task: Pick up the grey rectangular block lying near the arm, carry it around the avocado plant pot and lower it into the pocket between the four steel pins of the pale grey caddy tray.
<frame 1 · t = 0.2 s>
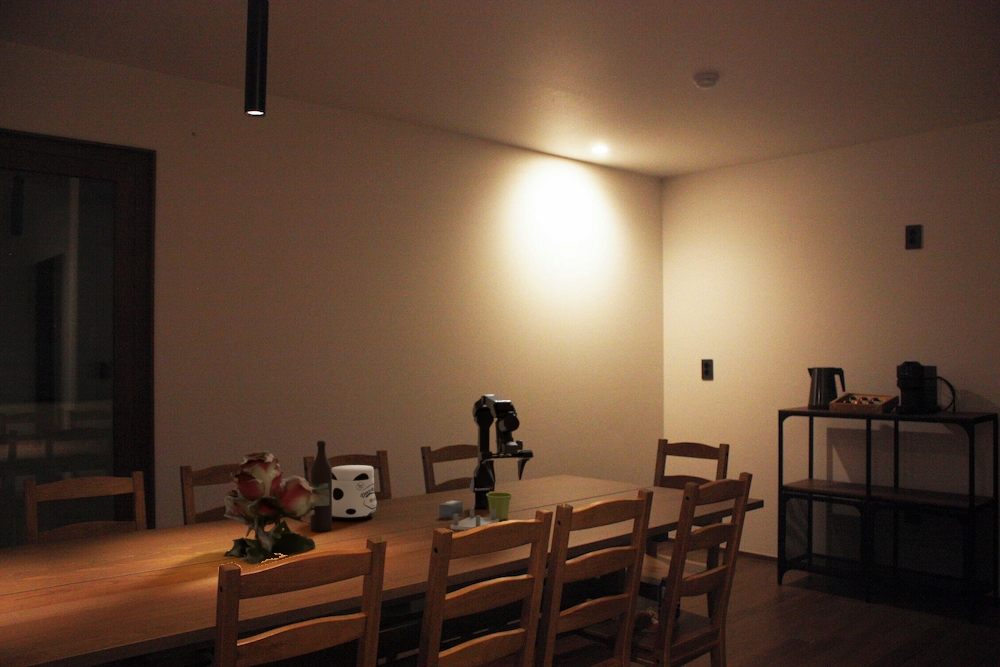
hand: (507, 480, 275), 15 cm above the table, tool pointing down, fingers open, 9 cm apart
wine bottle: (321, 530, 267), on the table
grey rectangular block: (451, 516, 291), on the table
milk container: (352, 518, 288), on the table
rose bouquet: (264, 550, 241), on the table
plant pot: (499, 519, 286), on the table
caddy: (474, 525, 274), on the table
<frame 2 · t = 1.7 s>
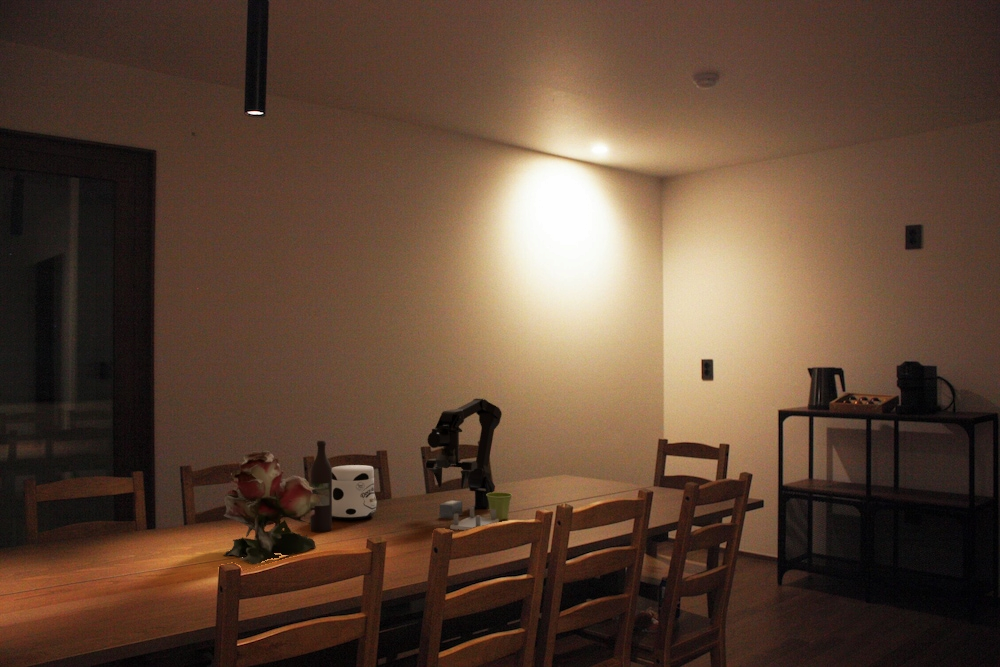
hand: (451, 488, 291), 10 cm above the table, tool pointing down, fingers open, 9 cm apart
nothing on the table moved.
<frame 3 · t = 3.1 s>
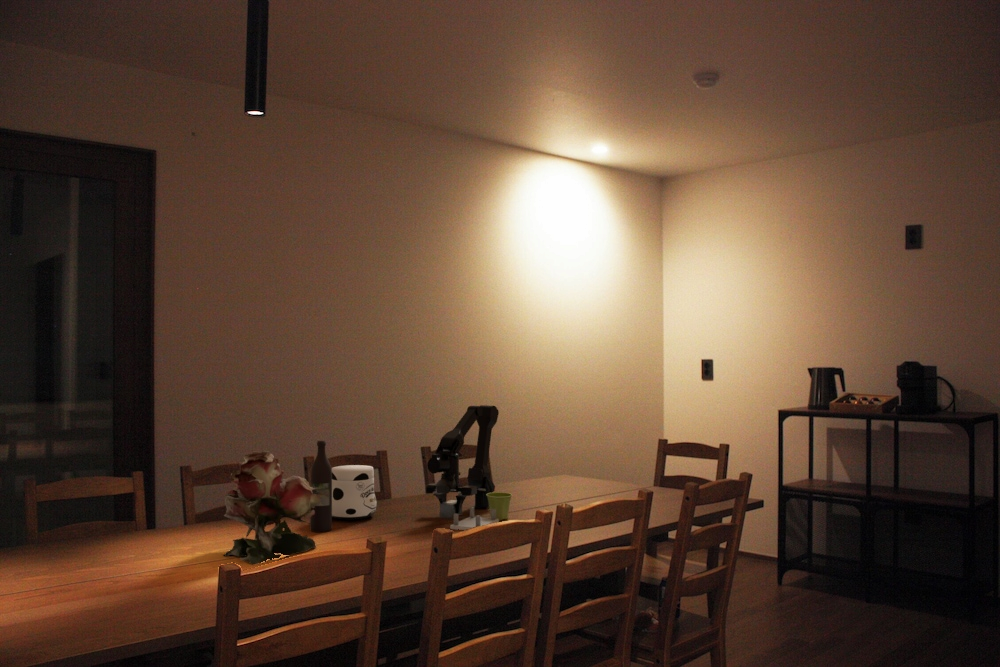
hand: (451, 513, 291), 1 cm above the table, tool pointing down, fingers closed on grey rectangular block, 5 cm apart
grey rectangular block: (451, 515, 291), on the table, touching gripper
everything else where it was.
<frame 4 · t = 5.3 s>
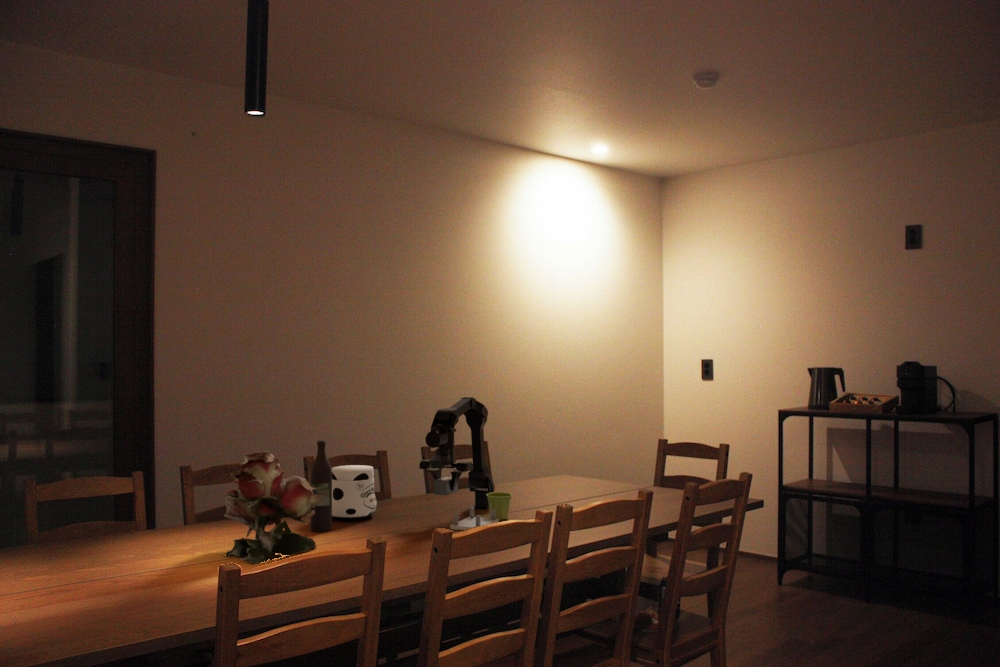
hand: (445, 490, 279), 11 cm above the table, tool pointing down, fingers closed on grey rectangular block, 5 cm apart
grey rectangular block: (445, 493, 279), point 10 cm above the table, touching gripper
everything else where it was.
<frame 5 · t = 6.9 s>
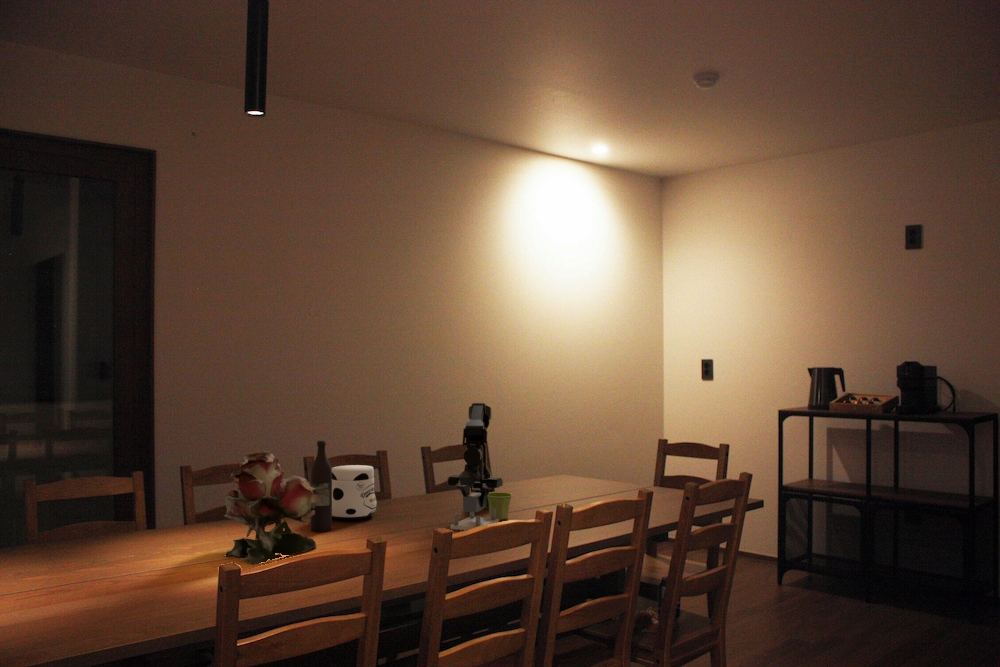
hand: (474, 506, 274), 7 cm above the table, tool pointing down, fingers closed on grey rectangular block, 5 cm apart
grey rectangular block: (474, 509, 274), point 6 cm above the table, touching gripper
everything else where it was.
when the fingers open (4 cm above the table, at t = 7.8 s): grey rectangular block drops 1 cm, resting on caddy.
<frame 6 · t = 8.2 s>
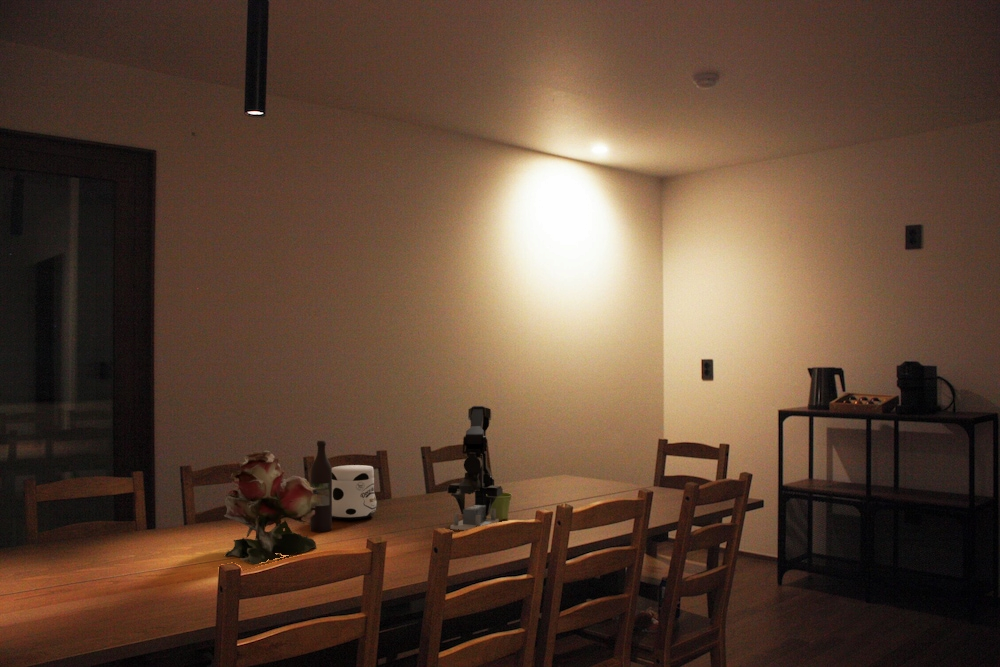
hand: (474, 514, 274), 4 cm above the table, tool pointing down, fingers open, 9 cm apart
grey rectangular block: (474, 522, 274), point 1 cm above the table, touching caddy
everything else where it was.
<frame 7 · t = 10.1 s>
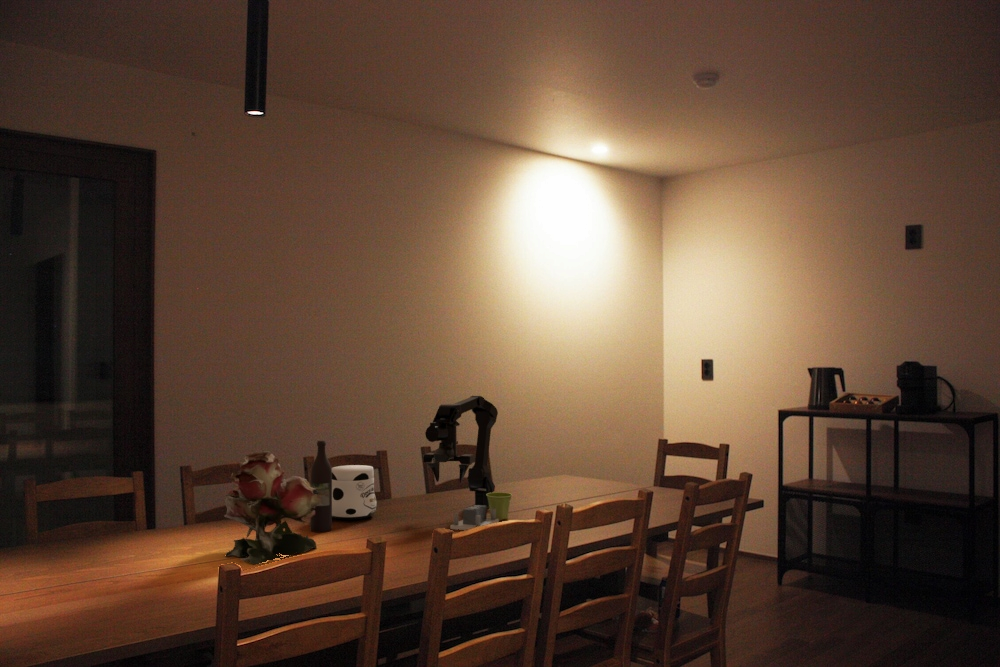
hand: (449, 482, 289), 13 cm above the table, tool pointing down, fingers open, 9 cm apart
nothing on the table moved.
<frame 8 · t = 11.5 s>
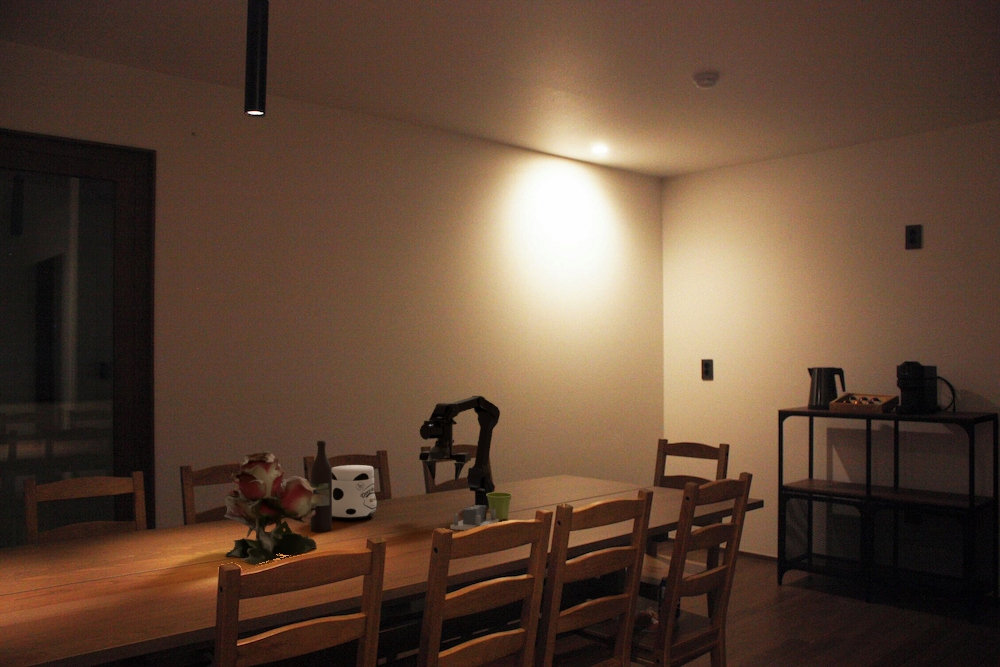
hand: (444, 480, 291), 13 cm above the table, tool pointing down, fingers open, 9 cm apart
nothing on the table moved.
at the end: grey rectangular block 0.0 cm off-centre on the caddy, point 1.2 cm above the caddy's base; grey rectangular block tilted 0°; the gripper is holding nothing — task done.
